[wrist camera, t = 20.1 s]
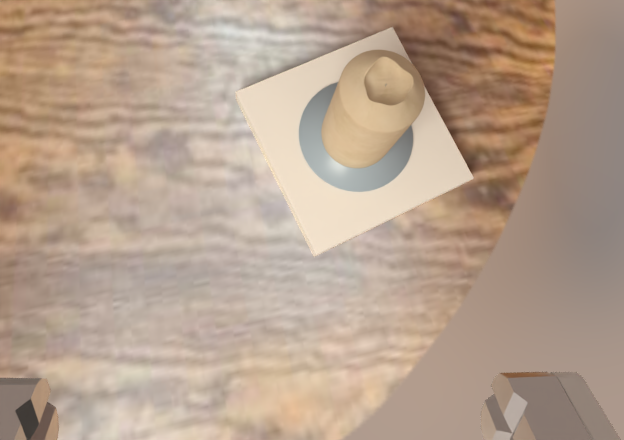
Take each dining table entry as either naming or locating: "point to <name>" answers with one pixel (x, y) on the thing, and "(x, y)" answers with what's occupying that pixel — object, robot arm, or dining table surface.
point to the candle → (371, 107)
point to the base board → (330, 174)
